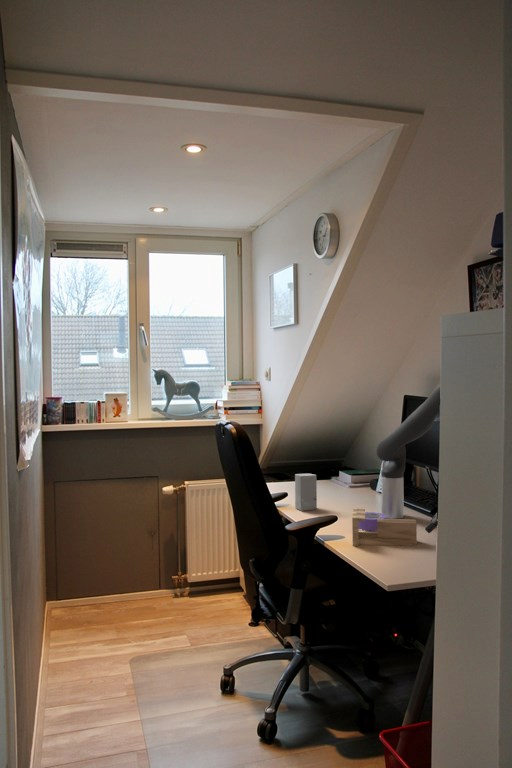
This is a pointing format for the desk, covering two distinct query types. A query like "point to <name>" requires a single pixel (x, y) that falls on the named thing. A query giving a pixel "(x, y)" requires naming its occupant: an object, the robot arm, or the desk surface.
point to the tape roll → (371, 521)
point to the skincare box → (305, 492)
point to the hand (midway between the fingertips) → (426, 531)
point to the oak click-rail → (370, 533)
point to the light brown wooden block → (397, 529)
